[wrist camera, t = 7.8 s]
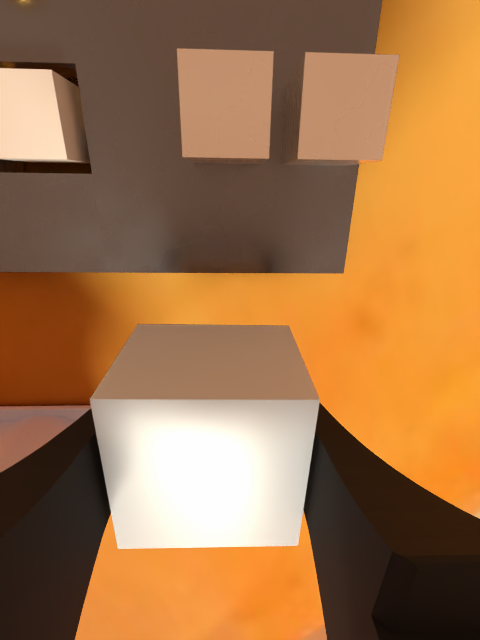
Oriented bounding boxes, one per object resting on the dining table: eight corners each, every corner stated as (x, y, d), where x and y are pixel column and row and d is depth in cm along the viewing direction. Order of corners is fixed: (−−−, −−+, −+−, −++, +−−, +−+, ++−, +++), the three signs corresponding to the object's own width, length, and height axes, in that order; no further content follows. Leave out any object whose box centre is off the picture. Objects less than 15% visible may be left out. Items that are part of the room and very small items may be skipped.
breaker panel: (-28, 262, 18) (-131, 294, 13) (-133, -67, 13) (-375, -235, 8) (331, 264, 18) (371, 295, 13) (371, -47, 13) (458, -188, 8)
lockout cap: (150, 441, 14) (117, 548, 10) (137, 324, 12) (89, 399, 8) (277, 440, 14) (297, 545, 10) (288, 325, 12) (319, 399, 8)
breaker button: (32, 162, 16) (-9, 158, 13) (16, 88, 15) (-32, 67, 12) (94, 163, 16) (67, 159, 13) (83, 90, 15) (51, 69, 12)
